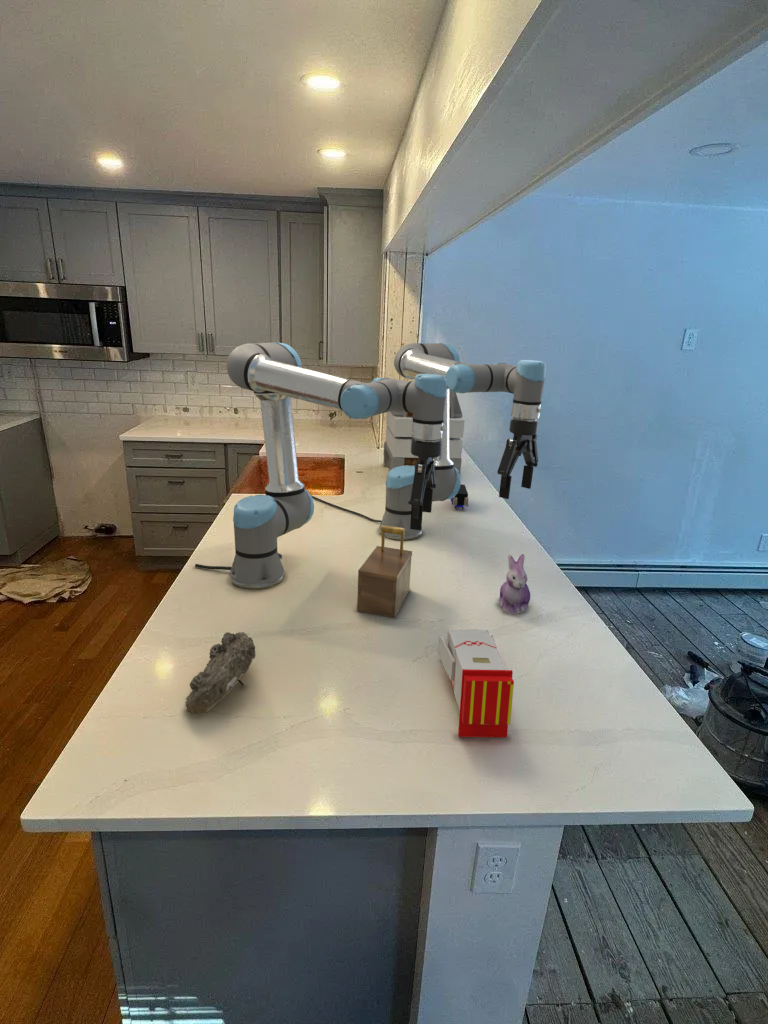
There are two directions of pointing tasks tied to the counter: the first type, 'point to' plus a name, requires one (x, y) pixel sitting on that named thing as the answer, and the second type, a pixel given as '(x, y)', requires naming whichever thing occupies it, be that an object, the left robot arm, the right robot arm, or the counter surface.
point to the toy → (478, 682)
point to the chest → (383, 593)
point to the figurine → (515, 588)
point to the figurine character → (460, 498)
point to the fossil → (221, 671)
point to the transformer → (401, 436)
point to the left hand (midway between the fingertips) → (421, 520)
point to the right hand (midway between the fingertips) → (515, 492)
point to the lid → (387, 558)
